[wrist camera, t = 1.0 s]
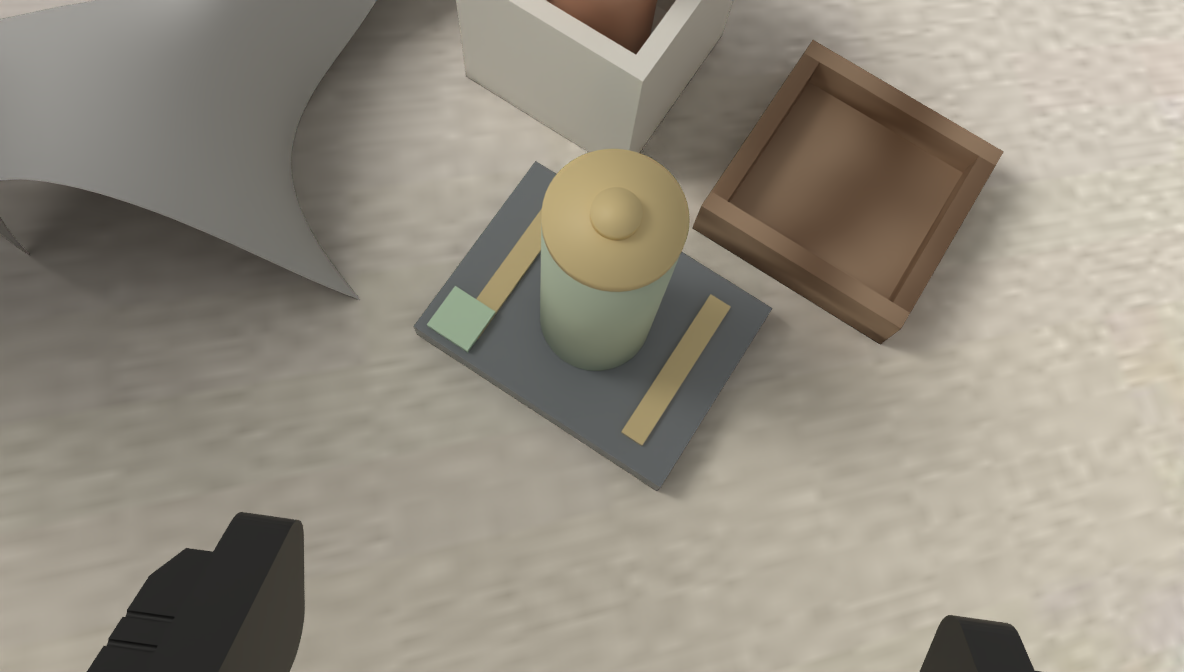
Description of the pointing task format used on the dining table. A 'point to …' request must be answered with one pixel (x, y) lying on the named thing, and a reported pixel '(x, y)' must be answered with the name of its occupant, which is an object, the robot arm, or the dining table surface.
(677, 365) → the grey board
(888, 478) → the dining table surface
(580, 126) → the white planter box
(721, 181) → the brown wooden tray
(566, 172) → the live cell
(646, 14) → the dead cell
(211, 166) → the sculpture
